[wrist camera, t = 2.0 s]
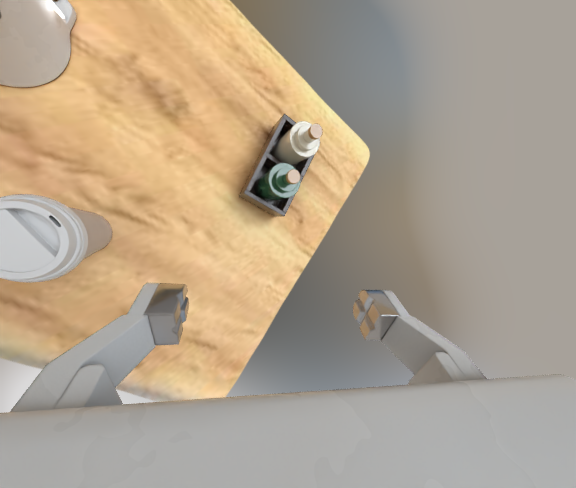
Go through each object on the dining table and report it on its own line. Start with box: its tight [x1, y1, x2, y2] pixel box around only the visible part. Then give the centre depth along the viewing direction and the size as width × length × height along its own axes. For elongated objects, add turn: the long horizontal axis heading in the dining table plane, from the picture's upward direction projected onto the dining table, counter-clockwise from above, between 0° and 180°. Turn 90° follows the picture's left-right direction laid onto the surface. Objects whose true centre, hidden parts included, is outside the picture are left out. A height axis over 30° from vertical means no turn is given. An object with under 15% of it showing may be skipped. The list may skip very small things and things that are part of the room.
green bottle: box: [254, 163, 300, 202], centre depth 39 cm, size 6×6×14 cm
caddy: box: [239, 114, 315, 217], centre depth 44 cm, size 16×9×6 cm, turn 153°
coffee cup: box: [0, 194, 112, 282], centre depth 29 cm, size 10×10×15 cm
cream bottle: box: [271, 121, 323, 166], centre depth 39 cm, size 6×6×14 cm
